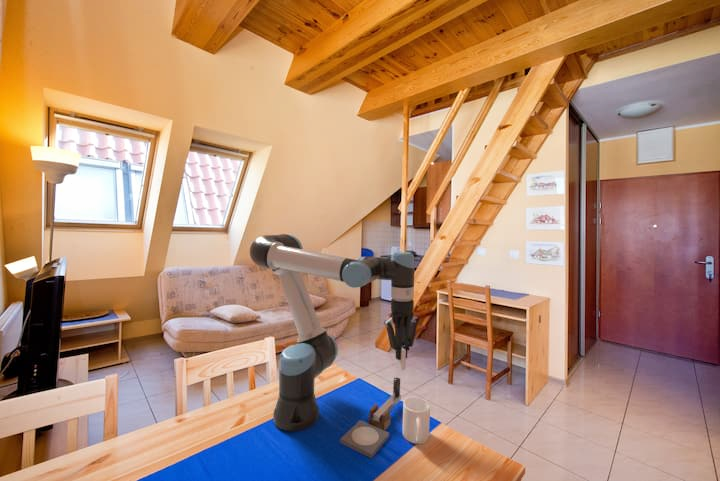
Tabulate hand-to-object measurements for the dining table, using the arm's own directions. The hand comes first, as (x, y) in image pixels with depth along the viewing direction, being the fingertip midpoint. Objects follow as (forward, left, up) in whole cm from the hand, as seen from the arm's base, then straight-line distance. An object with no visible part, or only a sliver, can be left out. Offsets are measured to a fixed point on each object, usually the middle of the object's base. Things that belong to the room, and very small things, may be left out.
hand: (401, 368), depth 105 cm
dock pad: (-5, -15, -18) cm, 24 cm away
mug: (+8, -6, -18) cm, 21 cm away
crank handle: (-5, 0, -16) cm, 16 cm away
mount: (-5, -6, -18) cm, 20 cm away
